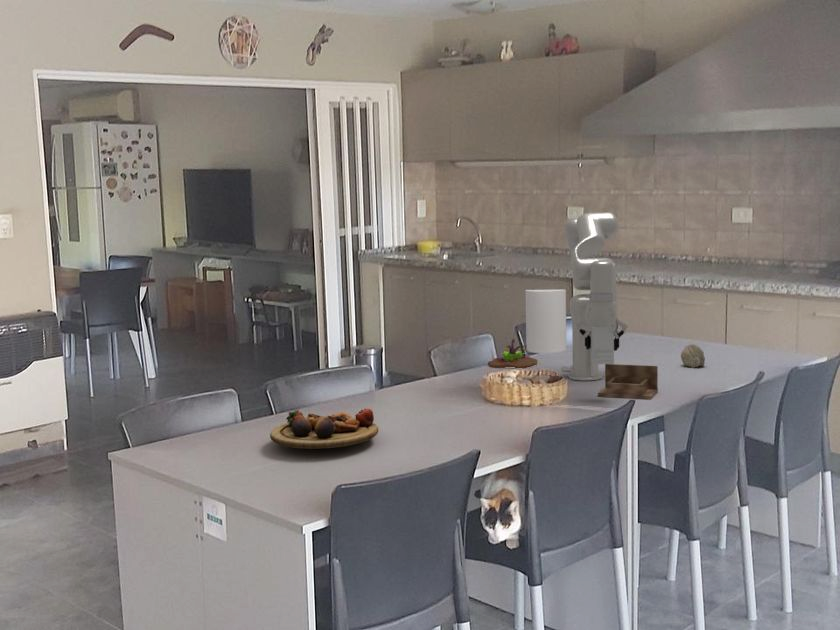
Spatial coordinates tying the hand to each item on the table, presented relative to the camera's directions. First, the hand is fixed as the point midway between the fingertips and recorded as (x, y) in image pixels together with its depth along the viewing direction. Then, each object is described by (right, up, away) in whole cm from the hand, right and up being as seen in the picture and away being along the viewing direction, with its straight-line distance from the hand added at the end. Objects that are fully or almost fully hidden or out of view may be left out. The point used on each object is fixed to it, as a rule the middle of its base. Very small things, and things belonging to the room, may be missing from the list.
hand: (602, 349), depth 327 cm
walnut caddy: (+11, -16, +10) cm, 22 cm away
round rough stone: (+45, -10, +54) cm, 71 cm away
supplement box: (0, -5, +1) cm, 5 cm away
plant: (-23, -10, +73) cm, 77 cm away
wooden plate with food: (-89, -25, -35) cm, 99 cm away
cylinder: (-6, -6, +100) cm, 101 cm away
